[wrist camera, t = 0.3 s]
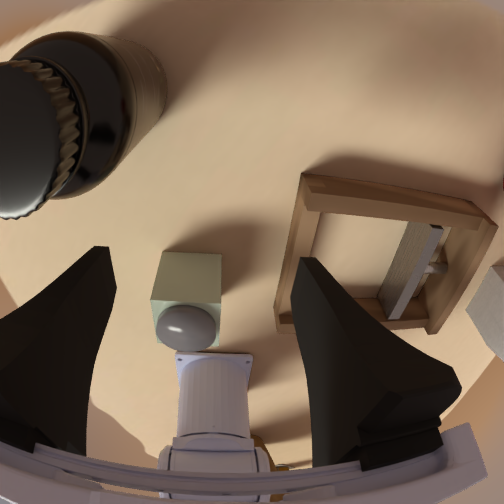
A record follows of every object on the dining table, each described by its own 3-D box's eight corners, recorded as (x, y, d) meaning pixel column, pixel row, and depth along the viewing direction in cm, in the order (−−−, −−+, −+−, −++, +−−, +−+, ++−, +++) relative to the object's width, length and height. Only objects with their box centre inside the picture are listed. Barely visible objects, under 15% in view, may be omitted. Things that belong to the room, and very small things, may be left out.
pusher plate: (417, 295, 28) (429, 316, 26) (376, 295, 28) (387, 319, 25) (455, 214, 23) (474, 233, 20) (413, 207, 22) (432, 228, 20)
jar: (219, 297, 26) (218, 355, 21) (166, 294, 26) (156, 351, 21) (221, 253, 24) (221, 313, 19) (162, 251, 23) (148, 308, 18)
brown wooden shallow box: (421, 305, 29) (436, 333, 26) (273, 307, 27) (279, 343, 24) (471, 201, 22) (498, 226, 19) (301, 173, 20) (315, 200, 17)
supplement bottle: (96, 162, 18) (-6, 276, 8) (53, 77, 14) (-89, 124, 4) (188, 115, 17) (140, 194, 7) (145, 20, 13) (37, -24, 4)
